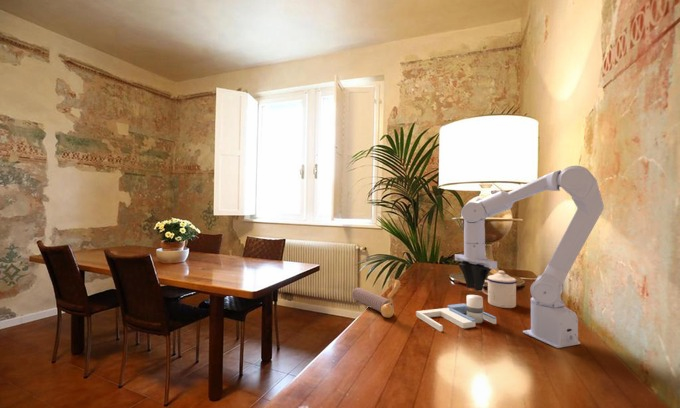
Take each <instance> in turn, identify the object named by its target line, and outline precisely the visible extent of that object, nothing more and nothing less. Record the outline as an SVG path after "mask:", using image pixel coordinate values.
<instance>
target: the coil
mask: <svg viewBox="0 0 680 408" xmlns="http://www.w3.org/2000/svg"><path fill="white" fill-rule="evenodd" d="M351 297H352V299H353V300H354V301H356V302H358V303H361V304H363V306H364V305H365V306H367V307H369V308H371V309H373V310H375V311H377V312H379V313H381V307H382V306H383V305H384V304H387V303H389V302H390V300H389V299H388V297H384V296H382V295H379V294H376V293H374V292H371V291H369V290H366V289H364V288H362V287H356V288H354V289H353V290H352V293H351ZM390 305H391V306H392V307H393V308H394V307H395V306H394V302H393V301H392V303H391V304H390ZM370 306H371V307H370ZM394 309H395V308H394Z"/></svg>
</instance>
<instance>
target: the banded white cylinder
mask: <svg viewBox="0 0 680 408" xmlns="http://www.w3.org/2000/svg"><path fill="white" fill-rule="evenodd" d="M483 301H484V298H483V297H482V296H481V295H476V294H467V295H466V303H465V304H466V310H467V313H466V316H468V317H470V318H472V319H474V320H475V324H483V323H484V319H483V312H484V306H483V305H484V303H483Z"/></svg>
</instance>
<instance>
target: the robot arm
mask: <svg viewBox="0 0 680 408" xmlns="http://www.w3.org/2000/svg"><path fill="white" fill-rule="evenodd" d="M560 188H561V189H563V190H564V191H565V192H566V193H567V194H569V195H570V197H571V199H572V201H573V202H574V204H575V206H576V208H577V209H576V211H575V213H574V215H573V217H572V219H571V220H570V222H569V224H568V226H567V228H566V230H565V232H564V234H563V235H562V237H561V240H560V241H559V243H558V245H557V247H556V248H555V251H554V252H553V254H552V256H551V259H550V260H549V262H548V263H547V265H546V267H545V269H544V271H543V272H542V274H540V275H539V276H537V277H536V278H535V280H534V281H533V282H532V284H531V285H530V288H529V289H530V295H531V296H532V297H530V329H526V330H522V333H523V334H524V335H527V336H530V337H532V338H534V339H536V340H539V341H541V342H543V343H545V344H548V345H550V346H552V347H554V348H557V349H560V348H566V347H571V346H576V345H581V341H580V340H579V319H578V318H579V317H578V315H577V314H576V312H575V311H573V310H572V309H569V308H567V307H566V304H565V301H563V298H561V296H562V293H563V291H564V282H565V280H566V278H567V276H568V275H569V272H570V271H571V269H572V267H573V265H574V263H575V261H576V259H577V258H578V256H579V255H580V252H581V251H582V249H583V247H584V245H585V243H586V242H587V240H588V238H589V236H590V234H591V232H592V231H593V230H594V227H595V226H596V223H597V222H598V220H599V218H600V217H601V215H602V213H603V211H604V208H605V205H604V201H603V198H602V195H601V191H600V188H599V184H598V180H597V178H595V176H594V175H593V174H592V173H591V171H590V170H589V169H588V168H586V167H584V166H581V165H570V166H567V167H565V168H564V169H562V170H561V169H559V170H556V171H552V172H549V173H547V174H545V175H542V176H540V177H538V178H536V179H533V180H532V181H530V182H527V183H525V184H523V185H520V186H519V187H516V188H514V189H512V190H510V191H504V190H502V189H501V190H499V191H498V190H493V191H492V192H491V194H489V195H487V196H485V197H483V198H477V199H475V201H476V202H472V201H471V202H470V201H469V202H467V203H466V204H465V205H463V207H462V208H461V217H462V219H463V254H460V253H458V254H454V261H455V262H458V261H459V262H462V263H458V267H459V269H460V270H461V272H462V275H463V277H464V281H465V285H466V288H468V289H470V288H474V290H475V291H482V289H483V288H484V284H485V283H486V282H485V280H486V279H487V277H488V276H489V273H490V272H491V270H493V269H496V270H497V269H498V261H496V260H493V259H490V258H489V259H488V257H486V228H485V220H486V218H490V217H493V216H495V215H496V216H497V215H498V214H500V213H504V212H506V211H508V210H511V209H512V208H513V206H514V203H515V202H518V201H522V200H523V199H526V198H529V197H533V196H534V195H537V194H539V193H542V192H546V191H550V192H560V191H561V190H560Z"/></svg>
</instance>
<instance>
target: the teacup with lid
mask: <svg viewBox="0 0 680 408" xmlns="http://www.w3.org/2000/svg"><path fill="white" fill-rule="evenodd" d="M486 279H487V280H486ZM486 279H485V282H484V283H487V290H485V287H483V289H482V290H481V292H482V293H483V294H485V295H487V302H488V304H489V305H491V306H494V307H498V308H501V309H503V308H504V309H513V308H515V307H517V279H516V278H515V277H512V276H510V275H509V274H507V273H506V272H505V271H504V270H498V272H496V273H494V274H490V275H487V277H486Z"/></svg>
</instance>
